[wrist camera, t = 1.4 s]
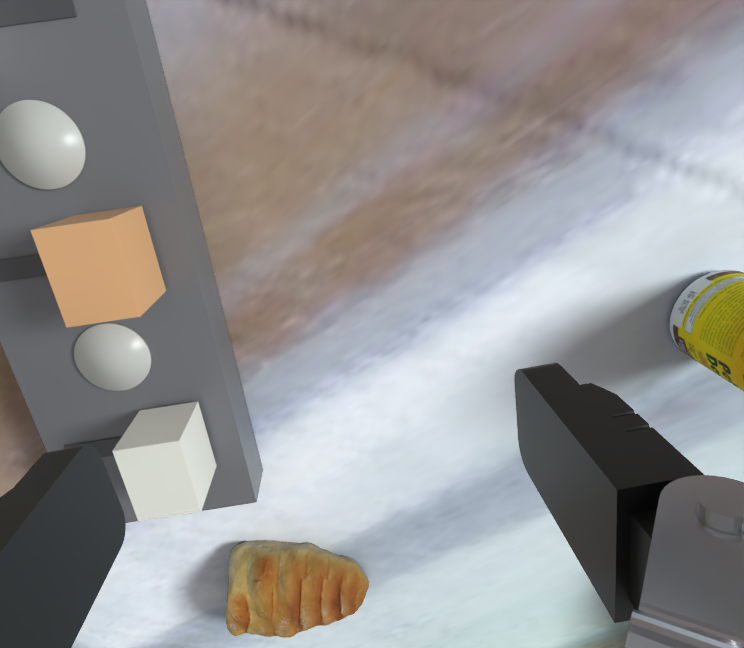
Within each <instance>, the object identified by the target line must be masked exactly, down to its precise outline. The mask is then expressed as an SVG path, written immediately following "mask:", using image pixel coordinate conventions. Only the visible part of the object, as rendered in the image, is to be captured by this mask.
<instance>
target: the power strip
mask: <svg viewBox="0 0 744 648" xmlns="http://www.w3.org/2000/svg"><path fill="white" fill-rule="evenodd" d="M136 206H142V208H143V212H144V215H145V219H146V222H147V226H148V229H149V233H150V236H151V240H152V243H153V247H154V250H155V254H156V257H157V260H158V264H159V267H160V271H161V274H162V278H163V281H164V285H165V288H166V292H165V293H164V294H163V295H162V296H161V297H160V298H159V299H158V300H157V301H156V302H155V303H154V304H153V305H152V306H151V307H150V308H149V309H148V310H147V311H146V312H145V313H144V314H142V315H141V316H140V317H135V318H128V319H121V320H115V321H108V322H101V323H94V324H88V325H81V326H74V327H67V328H66V325H65V322H64V320H63V317H62V314H61V312H60V309H59V306H58V303H57V301H56V298H55V295H54V293H53V290H52V287H51V285H50V282H49V279H48V276H47V274H46V271H45V268H44V266H43V263H42V260H41V258H40V255H39V252H38V249H37V247H36V244H35V241H34V239H33V236H32V233H31V231H30V230H33V229H35V228H38V227H41V226H44V225H47V224H50V223H53V222H56V221H59V220H62V219H65V218H68V217H71V216H74V215H80V214H87V213H94V212H101V211H108V210H115V209H122V208H129V207H136ZM0 343H1V345H2V347H3V350H4V352H5V354H6V357H7V359H8V362H9V364H10V366H11V369H12V371H13V373H14V376H15V378H16V380H17V383H18V385H19V387H20V390H21V392H22V394H23V397H24V399H25V402H26V404H27V406H28V409H29V411H30V413H31V416H32V418H33V420H34V423H35V425H36V427H37V430H38V432H39V434H40V437H41V439H42V442H43V444H44V446H45V449H46V451H47V452H51V451H57V450H63V449H68V448H74V447H80V446H85V445H91V446H93V447H95V448H96V449H97V450H98V452H99V453H100V455H101V457H102V460H103V462H104V465H105V467H106V470H107V472H108V475H109V477H110V479H111V482H112V484H113V487H114V489H115V492H116V494H117V496H118V499H119V501H120V504H121V506H122V509H123V512H124V516H125V523H128V522H134V521H138V519H137V517H136V514H135V511H134V508H133V506H132V503H131V500H130V498H129V495H128V492H127V490H126V487H125V484H124V481H123V479H122V476H121V473H120V471H119V468H118V465H117V463H116V460H115V457H114V454H113V452H112V451H113V449H114V448H115V446H116V445H117V443H118V442H119V440H120V439H121V438H122V436H123V435H124V433H125V432H126V430H127V429H128V427H129V426H130V424H131V423H132V421H133V420H134V418H135V417H136V415H137V414H138V412H139V411H140V410H146V409H152V408H159V407H165V406H172V405H178V404H185V403H191V402H198V403H199V406H200V410H201V413H202V417H203V420H204V424H205V427H206V431H207V434H208V438H209V441H210V445H211V448H212V451H213V455H214V458H215V462H216V465H217V466H216V469H215V472H214V475H213V478H212V481H211V484H210V487H209V490H208V493H207V496H206V499H205V502H204V505H203V508H202V511H204V510H210V509H216V508H223V507H229V506H235V505H242V504H248V503H254V502H257V497H258V492H259V487H260V482H261V477H262V472H263V468H262V464H261V460H260V456H259V452H258V448H257V444H256V440H255V436H254V432H253V428H252V424H251V420H250V416H249V412H248V408H247V404H246V400H245V396H244V392H243V388H242V384H241V380H240V376H239V372H238V368H237V364H236V360H235V356H234V352H233V348H232V344H231V340H230V336H229V332H228V328H227V324H226V320H225V316H224V312H223V308H222V304H221V300H220V296H219V292H218V288H217V284H216V280H215V276H214V272H213V268H212V264H211V260H210V256H209V252H208V248H207V244H206V240H205V236H204V232H203V228H202V224H201V220H200V216H199V212H198V208H197V204H196V200H195V196H194V192H193V188H192V184H191V180H190V176H189V172H188V168H187V164H186V160H185V156H184V152H183V148H182V144H181V140H180V136H179V132H178V128H177V124H176V120H175V116H174V112H173V108H172V104H171V100H170V96H169V92H168V88H167V84H166V80H165V76H164V72H163V68H162V64H161V60H160V56H159V52H158V48H157V44H156V40H155V36H154V32H153V28H152V24H151V20H150V16H149V12H148V8H147V4H146V0H0Z"/></svg>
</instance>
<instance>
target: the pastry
mask: <svg viewBox="0 0 744 648" xmlns="http://www.w3.org/2000/svg"><path fill="white" fill-rule="evenodd" d="M228 578H229V583H228V589H229V591H228V598H227V608H226V624H227V628H228V630H229V632H230V633H231V634H233V635H234V636H237V635H241V634H243V633H250V634H258V635H263V636H269V637H270V636H280V637H292V636H294V635H295V634H296V633H298V632H301V631H305V630H308V629H310V628H312V627H315V626H318V625H328V624H331V623H333V622H335V621H338V620H341V619H343V618H345V617H346V616H348V615H352V614H354V613H355V612H356V611H357V610H358V608H359V607H360V606H361V605H362V603H363V600H364V598H365V595H366V592H367V590H368V587H369V581H368V578H367V576H366V575H365V573H364V571H363V570H362V568H361V567H360V566H359V564H358V563H357V562H356V561H355V560H353V559H351V558H349V557H347V556H343V555H336V554H333V553H331V552H329V551H327V550H324V549H321V548H319V547H318V546H316V545H314V544H311V543H303V544H298V543H294V542H280V541H269V540H262V541H261V540H255V541H246V542H243V543H240V544H238V545H236V546H235V547H234V548H233V549H232V550H231V552H230V558H229V565H228Z"/></svg>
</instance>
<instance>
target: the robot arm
mask: <svg viewBox="0 0 744 648" xmlns="http://www.w3.org/2000/svg"><path fill="white" fill-rule="evenodd" d="M515 396H516V411H517V427H518V441H519V448H520V452H521V456H522V460H523V463H524V466H525V468H526V470H527V472H528V474H529V476H530V478H531V480H532V481H533V483H534V485H535V486H536V488H537V490H538V492H539V493H540V495H541V497H542V498H543V500H544V502H545V504H546V505H547V507H548V509H549V510H550V512H551V514H552V516H553V517H554V519H555V521H556V523H557V524H558V526H559V528H560V529H561V531H562V533H563V535H564V536H565V538H566V540H567V541H568V543H569V545H570V547H571V548H572V550H573V552H574V553H575V555H576V557H577V559H578V560H579V562H580V564H581V566H582V567H583V569H584V571H585V572H586V574H587V576H588V578H589V579H590V581H591V583H592V584H593V586H594V588H595V590H596V591H597V593H598V595H599V596H600V598H601V600H602V602H603V603H604V605H605V607H606V609H607V610H608V612H609V614H610V615H611V617H612V619H613V621H614V622H615V623H617V622H623V621H628V620H630V623H629V628H628V632H627V638H626V643H625V648H744V483H743V482H740V481H737V480H733V479H729V478H725V477H718V476H708V475H704V474H703V473H702V472H701V471H699V470H698V469H697V468H696V467H695V466H694V465H693V464H692V463H691V462H690V461H689V460H687V459H686V458H685V457H684V456H683V455H682V454H681V453H680V452H679V451H678V450H677V449H675V448H674V447H673V446H672V445H671V444H670V443H669V442H668V441H667V440H666V439H665V438H663V437H662V436H661V435H660V434H659V433H658V432H657V431H656V430H655V429H654V428H650V427H649V424H648V423H647V422H646V421H645V420H644V419H643V418H642V417H641V416H639V415H638V414H635V413H634V410H633V409H632V408H631V407H630V406H629V405H627V404H626V403H625V402H624V401H623V400H622V399H621V398H620V397H619V396H618V395H616V394H614V393H612V392H610V391H608V390H605V389H603V388H601V387H599V386H596V385H594V384H592V383H589V384H583V385H579V384H578V383H577V382H576V381H575V380H574V379H573V378H572V377H571V376H570V375H569V374H568V373H567V372H566V371H565V370H564V369H563V368H562V367H561V366H560V365H559V364H558V363H552V364H546V365H541V366H535V367H529V368H524V369H518V370H517V371H516V373H515ZM124 537H125V516H124V512H123V509H122V506H121V504H120V501H119V499H118V496H117V494H116V492H115V489H114V487H113V484H112V482H111V479H110V477H109V475H108V472H107V470H106V467H105V465H104V462H103V460H102V457H101V455H100V453H99V452H98V450H97V449H96V448H95V447H93V446H91V445H85V446H80V447H74V448H68V449H63V450H57V451H51V452H47V453H45V454H43V455H42V456H41V457H40V458H39V460H38V461H37V462H36V463H35V464H34V465H33V466H32V467H31V469H30V470H29V471H28V472H27V473H26V474H25V475H24V477H23V478H22V479H21V480H20V481H19V482H18V483H17V484H16V486H15V487H14V488H13V489H11V490H10V491H8V492H7V493H6V494H4V495H3V496H2V497H0V648H71V647H72V645H73V643H74V641H75V639H76V637H77V635H78V633H79V631H80V629H81V627H82V625H83V623H84V621H85V619H86V617H87V615H88V613H89V611H90V609H91V607H92V605H93V603H94V601H95V599H96V597H97V595H98V593H99V591H100V589H101V587H102V585H103V583H104V581H105V579H106V577H107V575H108V573H109V571H110V569H111V567H112V565H113V563H114V561H115V559H116V557H117V555H118V553H119V551H120V549H121V546H122V544H123V541H124Z"/></svg>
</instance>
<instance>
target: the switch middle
mask: <svg viewBox="0 0 744 648" xmlns="http://www.w3.org/2000/svg"><path fill="white" fill-rule="evenodd" d="M30 231H31V233H32V236H33V239H34V241H35V244H36V247H37V249H38V252H39V255H40V258H41V260H42V263H43V266H44V268H45V271H46V274H47V276H48V279H49V282H50V285H51V287H52V290H53V293H54V295H55V298H56V301H57V303H58V306H59V309H60V312H61V314H62V317H63V320H64V322H65V325H66V328H67V327H74V326H81V325H88V324H94V323H101V322H108V321H115V320H121V319H128V318H135V317H140V316H141V315H142V314H144V313H145V312H146V311H147V310H148V309H149V308H150V307H151V306H152V305H153V304H154V303H155V302H156V301H157V300H158V299H159V298H160V297H161V296H162V295H163V294H164V293H165V292H166V288H165V285H164V281H163V278H162V274H161V271H160V267H159V264H158V260H157V257H156V254H155V250H154V247H153V243H152V240H151V236H150V233H149V229H148V226H147V222H146V219H145V215H144V212H143V208H142V206H136V207H129V208H122V209H115V210H108V211H101V212H94V213H87V214H80V215H74V216H71V217H68V218H65V219H62V220H59V221H56V222H53V223H50V224H47V225H44V226H41V227H38V228H35V229H33V230H30Z"/></svg>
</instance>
